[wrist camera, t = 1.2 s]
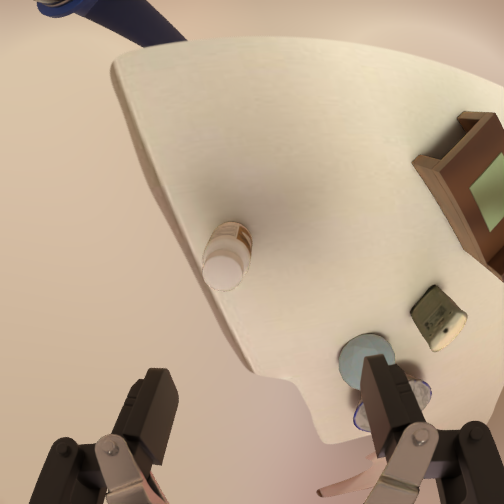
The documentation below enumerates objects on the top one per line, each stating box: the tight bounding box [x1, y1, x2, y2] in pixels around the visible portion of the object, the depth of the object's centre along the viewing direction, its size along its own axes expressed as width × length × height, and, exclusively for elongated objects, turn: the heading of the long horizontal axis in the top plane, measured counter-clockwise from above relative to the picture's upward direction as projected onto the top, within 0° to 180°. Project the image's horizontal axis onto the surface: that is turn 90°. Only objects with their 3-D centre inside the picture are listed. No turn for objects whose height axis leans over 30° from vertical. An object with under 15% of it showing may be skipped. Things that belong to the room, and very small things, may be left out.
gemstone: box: [339, 334, 395, 390], centre depth 36 cm, size 8×8×5 cm
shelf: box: [412, 112, 504, 283], centre depth 24 cm, size 14×10×9 cm
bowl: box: [353, 373, 432, 432], centre depth 39 cm, size 13×13×5 cm
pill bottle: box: [202, 222, 252, 292], centre depth 29 cm, size 4×4×8 cm
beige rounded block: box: [410, 285, 467, 352], centre depth 30 cm, size 6×5×8 cm
